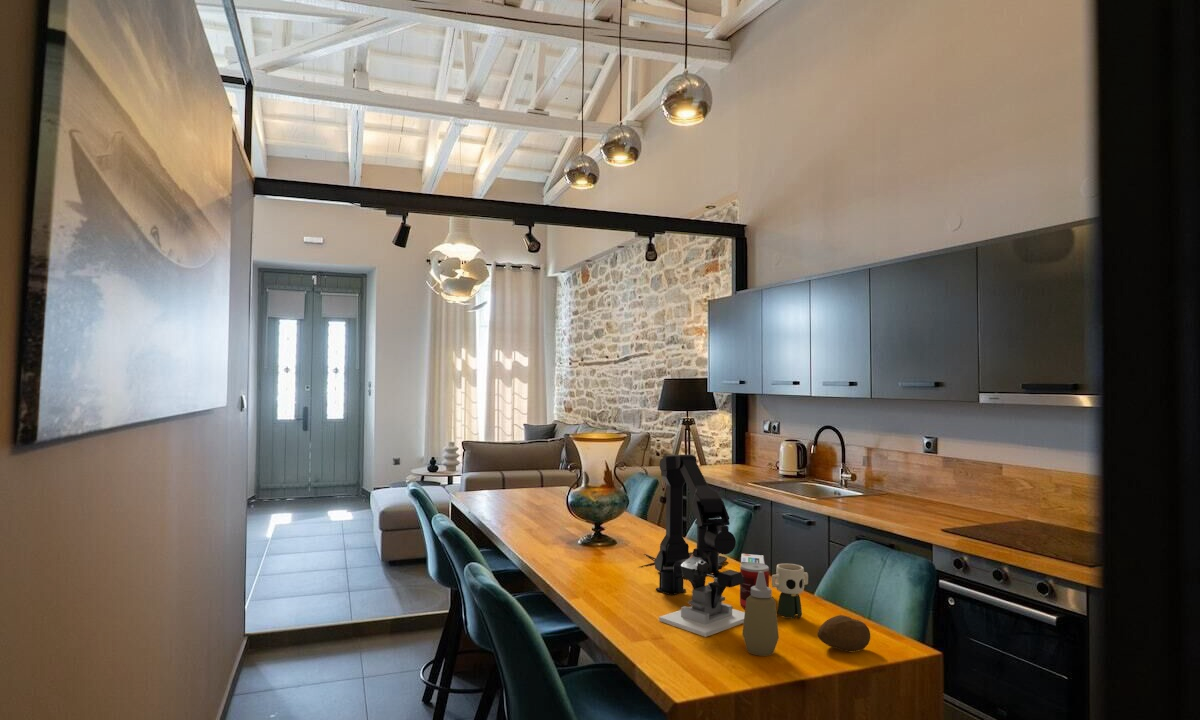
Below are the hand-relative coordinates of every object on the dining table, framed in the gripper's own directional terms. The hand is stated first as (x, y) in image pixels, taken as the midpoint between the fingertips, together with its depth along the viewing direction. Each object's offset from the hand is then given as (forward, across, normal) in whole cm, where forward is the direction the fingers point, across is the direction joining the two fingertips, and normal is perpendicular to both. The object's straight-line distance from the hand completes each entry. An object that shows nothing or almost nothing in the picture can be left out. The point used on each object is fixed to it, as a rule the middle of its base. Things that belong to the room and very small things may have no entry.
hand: (706, 606), depth 183 cm
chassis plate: (+4, 0, 0) cm, 4 cm away
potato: (+4, +34, +8) cm, 35 cm away
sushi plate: (+4, -43, +37) cm, 57 cm away
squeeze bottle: (+4, +22, -8) cm, 23 cm away
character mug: (+4, +12, +19) cm, 23 cm away
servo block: (+2, 0, 0) cm, 2 cm away
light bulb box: (+4, -4, +27) cm, 28 cm away
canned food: (+4, +2, +19) cm, 19 cm away
